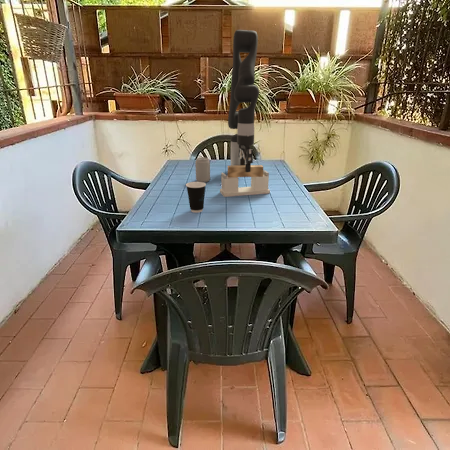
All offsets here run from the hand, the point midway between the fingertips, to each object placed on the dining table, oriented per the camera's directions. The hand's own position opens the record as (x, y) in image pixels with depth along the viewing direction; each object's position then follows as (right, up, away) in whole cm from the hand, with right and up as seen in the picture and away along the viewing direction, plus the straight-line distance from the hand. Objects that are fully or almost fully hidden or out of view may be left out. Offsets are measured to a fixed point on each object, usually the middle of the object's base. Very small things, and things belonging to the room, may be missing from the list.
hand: (245, 169), depth 160 cm
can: (-21, -2, +24) cm, 32 cm away
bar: (0, -3, +1) cm, 3 cm away
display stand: (0, -10, +4) cm, 11 cm away
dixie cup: (-21, -20, -19) cm, 34 cm away
